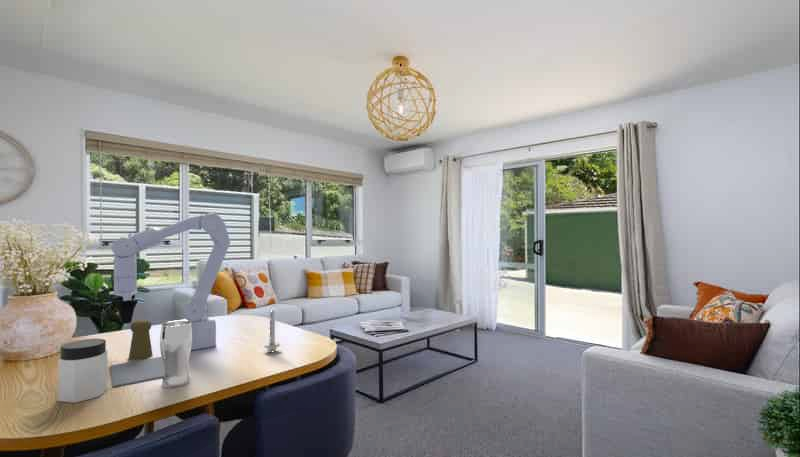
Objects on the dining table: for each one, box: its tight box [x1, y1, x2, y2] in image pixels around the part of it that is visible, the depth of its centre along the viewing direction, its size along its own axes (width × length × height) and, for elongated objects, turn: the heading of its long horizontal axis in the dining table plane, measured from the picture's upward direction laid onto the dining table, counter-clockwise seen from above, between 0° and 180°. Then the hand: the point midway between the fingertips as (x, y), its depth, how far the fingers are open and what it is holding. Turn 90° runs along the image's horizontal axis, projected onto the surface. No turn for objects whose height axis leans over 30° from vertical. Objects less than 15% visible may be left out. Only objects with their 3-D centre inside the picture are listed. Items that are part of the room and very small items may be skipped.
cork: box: [128, 319, 154, 361], centre depth 116 cm, size 6×6×11 cm
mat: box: [109, 356, 164, 388], centre depth 105 cm, size 15×18×1 cm
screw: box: [263, 310, 281, 353], centre depth 122 cm, size 13×5×5 cm
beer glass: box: [159, 319, 192, 389], centre depth 96 cm, size 7×7×15 cm
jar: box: [57, 338, 108, 404], centre depth 89 cm, size 9×8×12 cm
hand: (125, 320), depth 118 cm, fingers open, 7 cm apart
